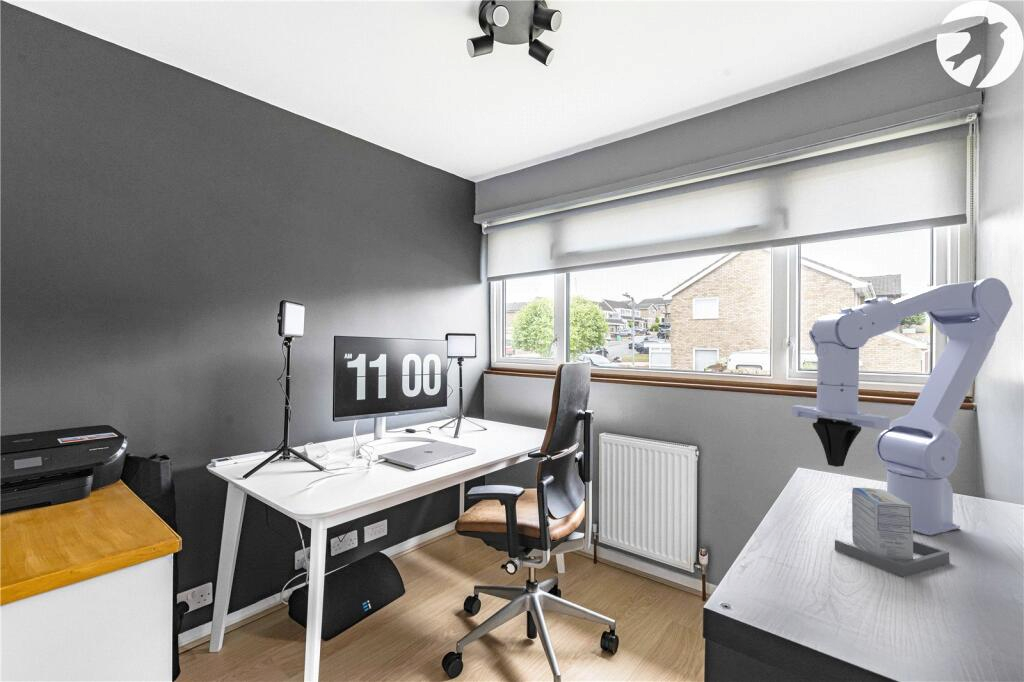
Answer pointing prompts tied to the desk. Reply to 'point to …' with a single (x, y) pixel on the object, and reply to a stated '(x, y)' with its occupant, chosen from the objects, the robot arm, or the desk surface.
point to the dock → (928, 561)
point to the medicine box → (882, 524)
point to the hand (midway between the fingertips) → (835, 465)
